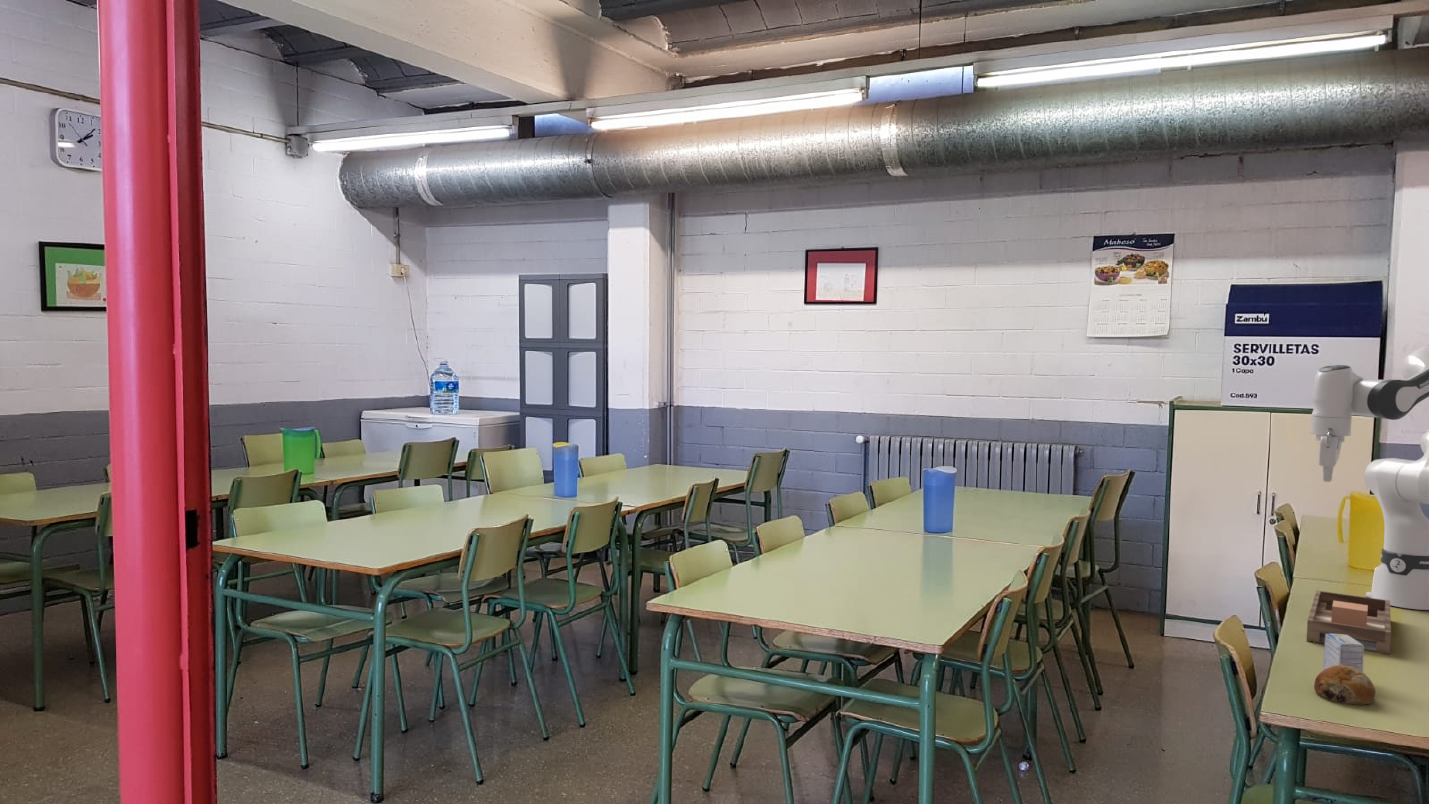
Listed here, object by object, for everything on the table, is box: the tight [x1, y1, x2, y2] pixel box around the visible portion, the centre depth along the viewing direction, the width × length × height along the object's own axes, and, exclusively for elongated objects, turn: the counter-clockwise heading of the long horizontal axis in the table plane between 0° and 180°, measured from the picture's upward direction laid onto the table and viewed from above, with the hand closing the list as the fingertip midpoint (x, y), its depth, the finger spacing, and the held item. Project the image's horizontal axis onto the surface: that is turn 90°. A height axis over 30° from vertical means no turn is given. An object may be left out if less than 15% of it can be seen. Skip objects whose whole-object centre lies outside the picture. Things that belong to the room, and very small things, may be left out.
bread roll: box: [1313, 665, 1376, 706], centre depth 193 cm, size 10×10×8 cm
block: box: [1331, 601, 1368, 628], centre depth 237 cm, size 7×7×4 cm
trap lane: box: [1306, 590, 1392, 655], centre depth 241 cm, size 36×16×5 cm, turn 146°
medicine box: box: [1322, 634, 1365, 673], centre depth 203 cm, size 8×4×9 cm, turn 168°
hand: (1327, 481), depth 257 cm, fingers closed
